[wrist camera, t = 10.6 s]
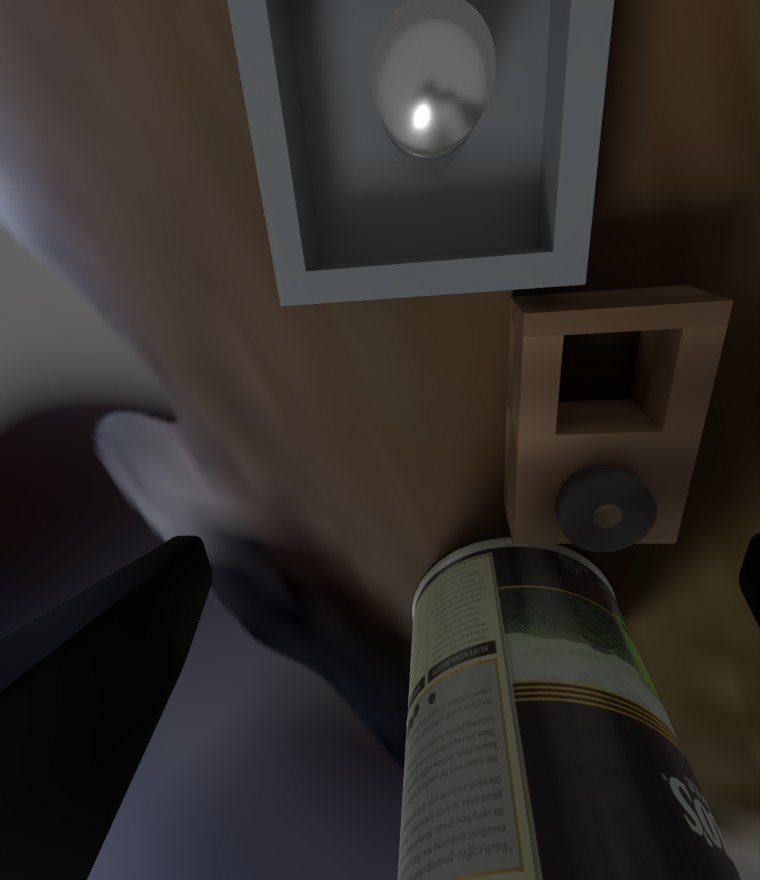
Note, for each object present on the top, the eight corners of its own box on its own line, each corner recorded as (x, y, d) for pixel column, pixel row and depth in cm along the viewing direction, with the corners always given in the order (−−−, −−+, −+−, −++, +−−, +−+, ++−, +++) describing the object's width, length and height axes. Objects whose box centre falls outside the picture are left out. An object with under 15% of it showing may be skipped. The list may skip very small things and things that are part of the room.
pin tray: (561, 271, 17) (585, 284, 14) (303, 290, 18) (280, 306, 15) (590, -101, 13) (632, -182, 10) (252, -42, 14) (209, -100, 11)
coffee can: (602, 514, 21) (845, 967, 9) (625, 669, 25) (813, 1128, 13) (384, 555, 23) (326, 957, 11) (438, 690, 28) (440, 1096, 15)
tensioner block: (644, 499, 21) (688, 561, 17) (503, 501, 21) (517, 560, 18) (685, 284, 17) (754, 306, 13) (510, 296, 17) (529, 320, 14)
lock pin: (469, 167, 15) (498, 135, 10) (393, 179, 16) (379, 155, 10) (464, 72, 14) (493, -21, 9) (382, 88, 15) (361, 7, 9)
